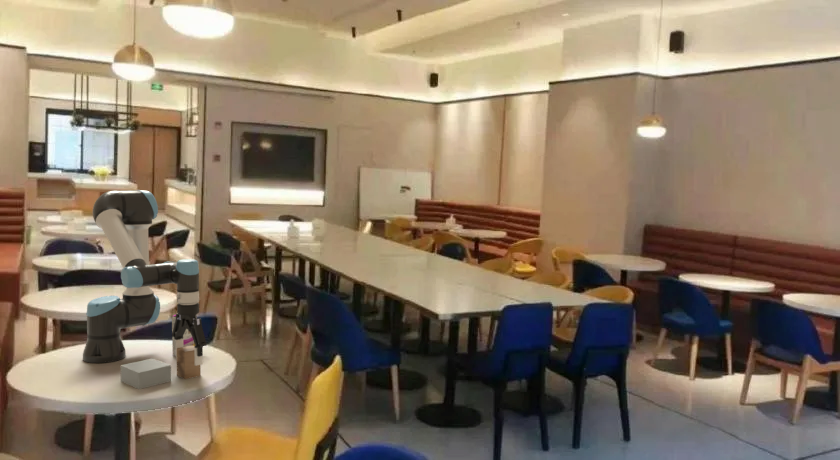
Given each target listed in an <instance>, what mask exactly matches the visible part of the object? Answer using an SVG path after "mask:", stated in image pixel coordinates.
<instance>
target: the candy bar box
mask: <svg viewBox="0 0 840 460" xmlns="http://www.w3.org/2000/svg"><path fill="white" fill-rule="evenodd" d="M197 315H198V314H196V319H198V317H197ZM175 320H176V314H174V315H172V316H171V331H172V332H173V328H174V324H175ZM172 332H171V333H172ZM171 337H172V336H171ZM181 339H183V347H186V346H191V345H192V346H196V345H195V343H194V340H193V338H192V335H191V333H190V332H189V331H188V329H186V331H185V333H184V335H183V338H181ZM175 340H176V339H174V337H172V338H171V342H172V344H171V345H172V356H173V357H176V342H175Z"/></svg>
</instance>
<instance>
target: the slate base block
mask: <svg viewBox="0 0 840 460" xmlns="http://www.w3.org/2000/svg"><path fill="white" fill-rule="evenodd" d="M171 381H172V365H171V364H169V363H166V362H164V361H161V360H158V359H155V358H148V359H147V358H146V359H143V360H139V361H133V362H130V363H125V364H121V365H120V382H121V383H124V384H126V385H128V386H131V387H133V388H135V389H137V390H141V389H145V388H149V387H152V386H153V387H154V386H157V385H161V384H165V383H169V382H171Z"/></svg>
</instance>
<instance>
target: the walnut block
mask: <svg viewBox="0 0 840 460" xmlns="http://www.w3.org/2000/svg"><path fill="white" fill-rule="evenodd" d="M194 347H195V346H192V345H191V346H186V347H181V348H177V358H176V376H177V377H180V378H181V379H184V380H187V379H192V377H193V378H197V377H200V376H201V368H202V367H201V365H197V366H195V353H194ZM196 376H197V377H196Z"/></svg>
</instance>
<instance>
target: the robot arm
mask: <svg viewBox="0 0 840 460" xmlns="http://www.w3.org/2000/svg"><path fill="white" fill-rule="evenodd" d="M157 202H158V201H157V200H156V198H155V196H154V194H153V193H152V192H151V191H148V190H140V189H134V190H109V191H106V192H103V193H102V194H101V195H100V196H98V197H97V199H96V200H95V202H94V203H93V206H92V218H93V221H94V222H95V225H96V226H97V227H98V228H100V229H102V231H103V234H104V235H105V237H106V239H107V240H108V242H109V244H110V246H111V248H112V250H113V252H114V254H115V255H116V257H117V258H118V262H119V263H120V265H121V267H122V269H121V271H120V279H121V283H122V286H123V287H125V289H124V291H123V292H122V298H120V296H118V295H106V296H99V297H97V298H93V299H91V300H90V301H89V302H88V303H87V305H86V333H87V339H86V342H85V346H84V349H83V352H82V361H84V362H86V363H90V364H91V363H92V364H104V363H105V364H106V363H111V362H116V361H120V360H122V359H124V358H126V354H127V353H126V352H127V351H126V348H125V345H124V342H123V340H122V338H121V329H128V328H134V327H139V326H140V327H141V326H142V327H143V326H146V325H151V324H154V323H156V321H157V320H158V319H159V316H160V313H161V302H160V298H159V297H158V296H157V294H155V291H154V290H153V289H152V288H151V287H150V286H160V285H168V284H169V285H170V284H175V285H176V292H177V293H176V298H177V300H176V302H177V305H176V310H177V311H176V312H177V313H176V314H175V315H176V320H175V324H174V328H173V332H171V337H174V339H176V340H175V342H176V356H175V359H177V348H181V347H183V339H181V338H183V335H184V333H185V331H186V329H188V331H189V332H190V333H191V335H192V338H193V340H194V343H195V345H196V346H195V347H194V353H195V366H197V365H200V366H201V365H203V363H204V361H203V357H204V356H203V355H204V353H203V352H204V351H203V348H204V347H207V341H206V337H205V333H204V329H203V325H202V319H201V318H197V319H196V314H197V315H198V314H199V313H200V303H199V302H200V269H199V267H200V266H199V261H198V260H197V259H190V258H184V259H179V260H177V261H173V260H172V261H164V262H163V263H156V264H150V253H149V244H150V243H149V228H150V227H151V226H152V225H153V220H155V219H156V218H157V217H158V213H159V207H158V206H159V205H158V203H157Z"/></svg>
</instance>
